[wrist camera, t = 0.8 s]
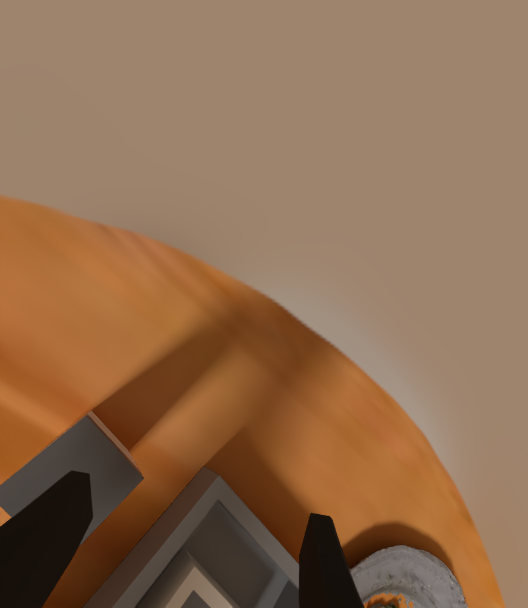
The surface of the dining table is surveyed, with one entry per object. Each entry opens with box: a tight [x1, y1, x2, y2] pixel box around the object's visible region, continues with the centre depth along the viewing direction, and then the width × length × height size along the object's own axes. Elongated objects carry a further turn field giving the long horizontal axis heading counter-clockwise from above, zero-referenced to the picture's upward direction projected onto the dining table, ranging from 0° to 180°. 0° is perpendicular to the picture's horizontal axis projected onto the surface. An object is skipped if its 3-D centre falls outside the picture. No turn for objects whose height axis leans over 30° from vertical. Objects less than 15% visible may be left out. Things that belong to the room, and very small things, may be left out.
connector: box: [0, 411, 144, 546], centre depth 17 cm, size 4×4×9 cm
